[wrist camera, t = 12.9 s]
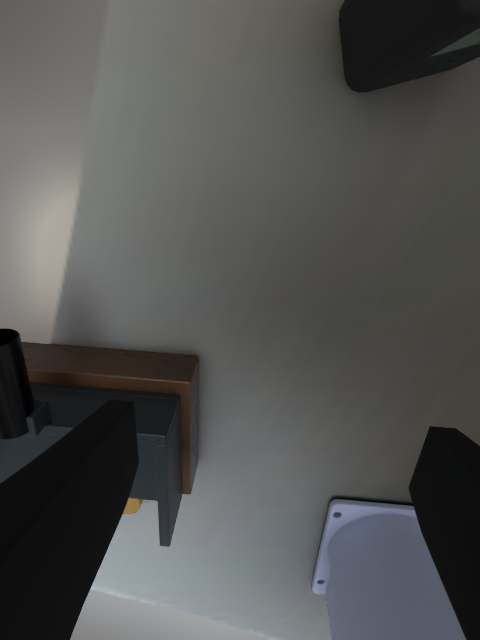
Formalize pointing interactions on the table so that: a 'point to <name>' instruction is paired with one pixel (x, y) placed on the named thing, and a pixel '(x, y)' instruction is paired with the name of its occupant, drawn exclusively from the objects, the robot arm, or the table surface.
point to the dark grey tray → (75, 406)
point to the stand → (126, 382)
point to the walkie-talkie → (406, 39)
